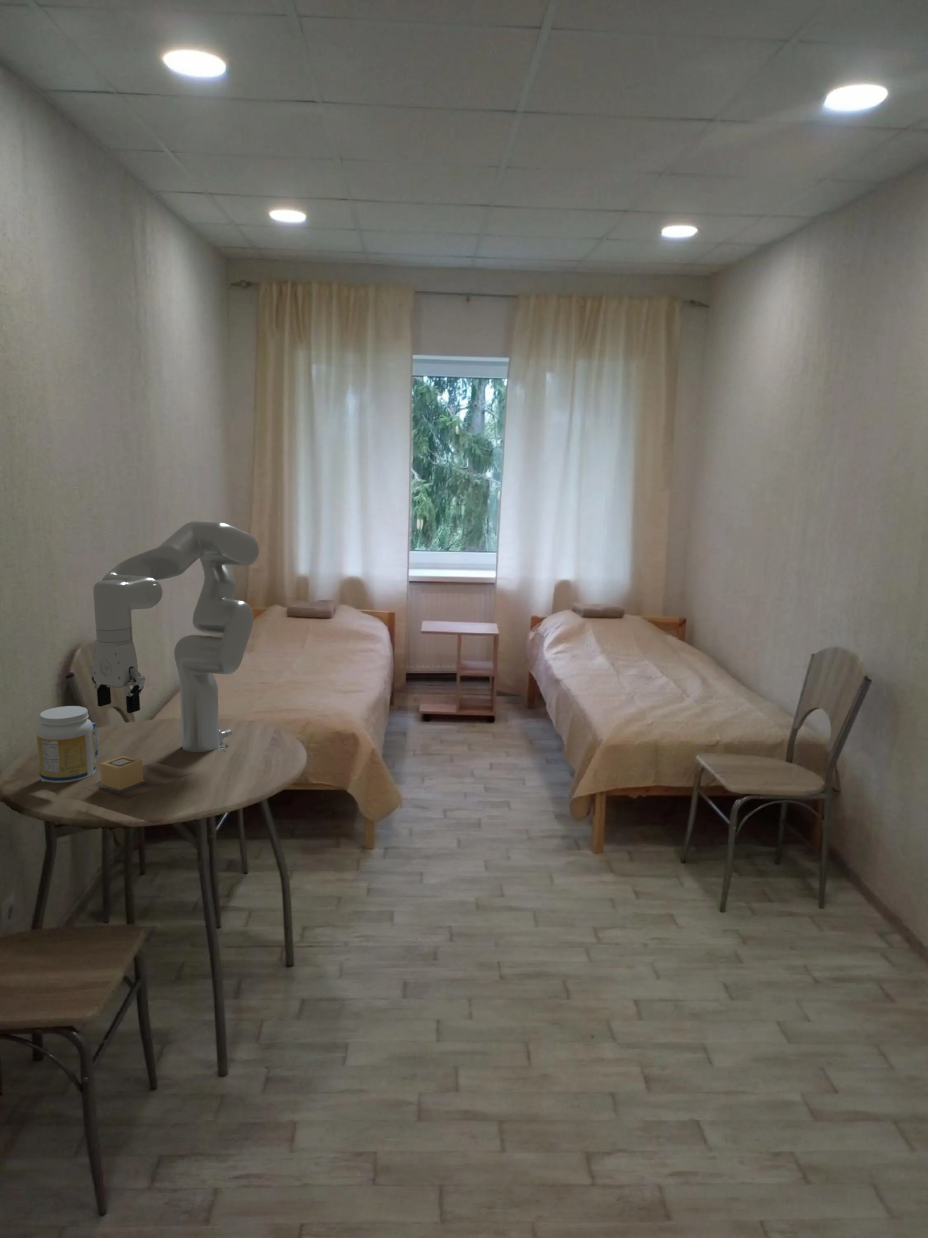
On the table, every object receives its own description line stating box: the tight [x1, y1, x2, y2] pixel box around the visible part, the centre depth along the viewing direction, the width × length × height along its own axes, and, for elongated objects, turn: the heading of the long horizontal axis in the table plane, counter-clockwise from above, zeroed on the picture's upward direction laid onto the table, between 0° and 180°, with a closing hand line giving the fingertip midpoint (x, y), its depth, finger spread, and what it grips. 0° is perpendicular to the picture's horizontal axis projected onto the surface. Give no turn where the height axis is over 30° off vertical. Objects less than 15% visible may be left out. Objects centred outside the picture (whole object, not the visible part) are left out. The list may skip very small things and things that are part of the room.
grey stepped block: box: [99, 759, 146, 795], centre depth 191 cm, size 7×7×6 cm
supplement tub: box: [36, 705, 97, 784], centre depth 198 cm, size 12×12×17 cm
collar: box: [99, 755, 144, 790], centre depth 191 cm, size 6×6×5 cm
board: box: [83, 761, 194, 801], centre depth 196 cm, size 20×14×2 cm
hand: (118, 708), depth 189 cm, fingers open, 9 cm apart
